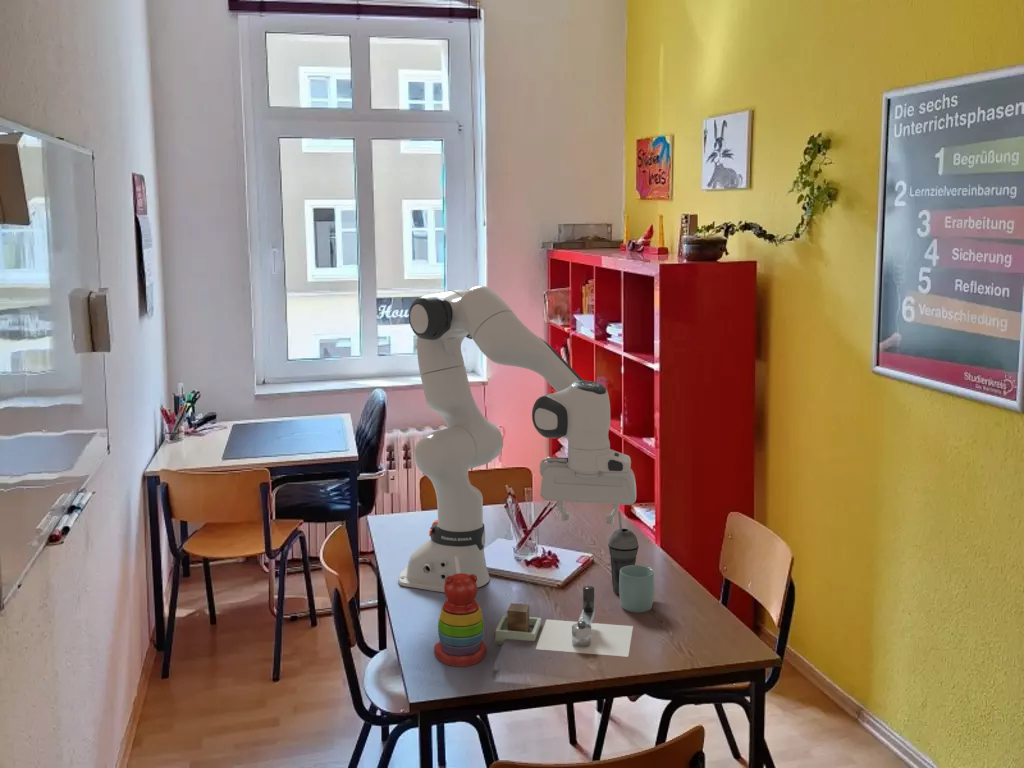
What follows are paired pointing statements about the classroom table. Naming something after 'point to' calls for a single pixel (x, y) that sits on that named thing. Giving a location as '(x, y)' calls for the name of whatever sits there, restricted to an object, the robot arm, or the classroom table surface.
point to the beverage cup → (621, 552)
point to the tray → (504, 634)
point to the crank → (584, 619)
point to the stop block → (518, 617)
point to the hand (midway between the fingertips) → (587, 521)
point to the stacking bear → (460, 623)
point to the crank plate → (602, 638)
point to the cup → (636, 588)
